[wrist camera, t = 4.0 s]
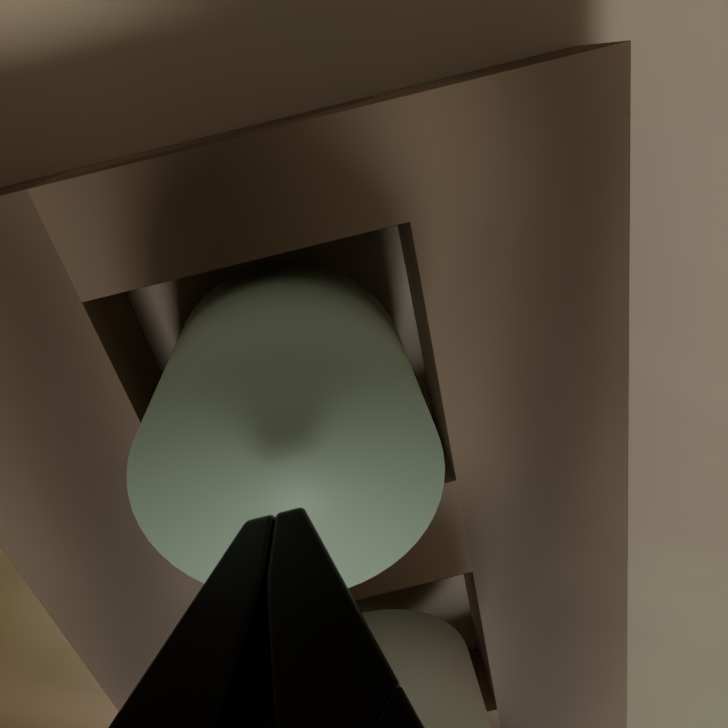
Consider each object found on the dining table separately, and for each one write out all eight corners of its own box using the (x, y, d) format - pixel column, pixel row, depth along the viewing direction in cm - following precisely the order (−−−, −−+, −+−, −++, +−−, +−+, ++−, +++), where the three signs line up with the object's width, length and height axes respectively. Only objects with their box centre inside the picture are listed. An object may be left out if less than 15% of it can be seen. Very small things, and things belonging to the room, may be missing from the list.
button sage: (378, 237, 11) (416, 310, 8) (420, 435, 14) (464, 561, 10) (137, 296, 11) (67, 395, 8) (219, 484, 14) (193, 626, 10)
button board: (576, 45, 11) (630, 40, 9) (601, 790, 24) (625, 847, 22) (-132, 220, 11) (-215, 248, 9) (279, 868, 24) (277, 931, 22)
